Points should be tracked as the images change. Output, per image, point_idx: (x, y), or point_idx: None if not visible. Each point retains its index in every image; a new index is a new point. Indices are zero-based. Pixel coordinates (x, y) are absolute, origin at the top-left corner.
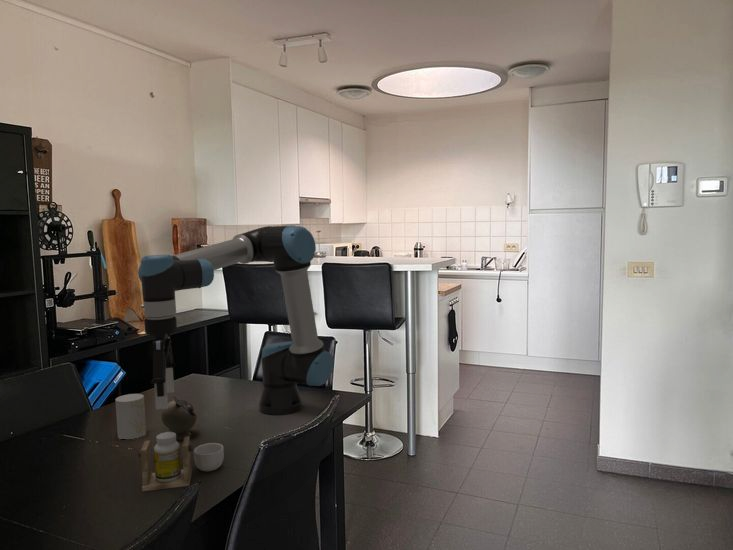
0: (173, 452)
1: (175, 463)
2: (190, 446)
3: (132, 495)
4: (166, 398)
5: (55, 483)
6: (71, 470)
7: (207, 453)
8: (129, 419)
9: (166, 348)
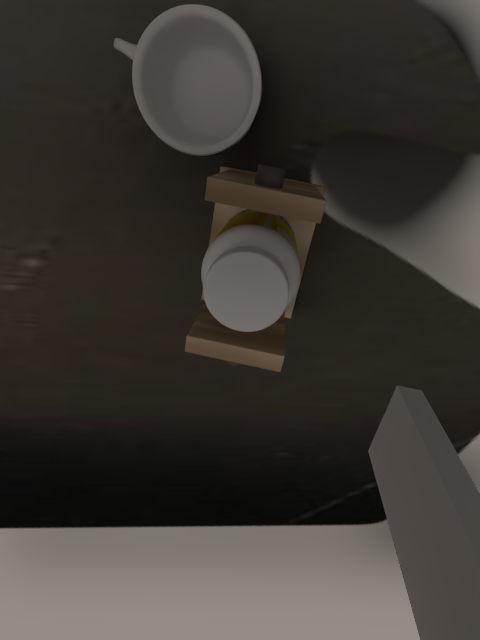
0: (296, 253)
1: (292, 236)
2: (277, 179)
3: (301, 336)
4: (451, 456)
5: (156, 465)
6: (95, 441)
7: (156, 92)
8: None
9: None
